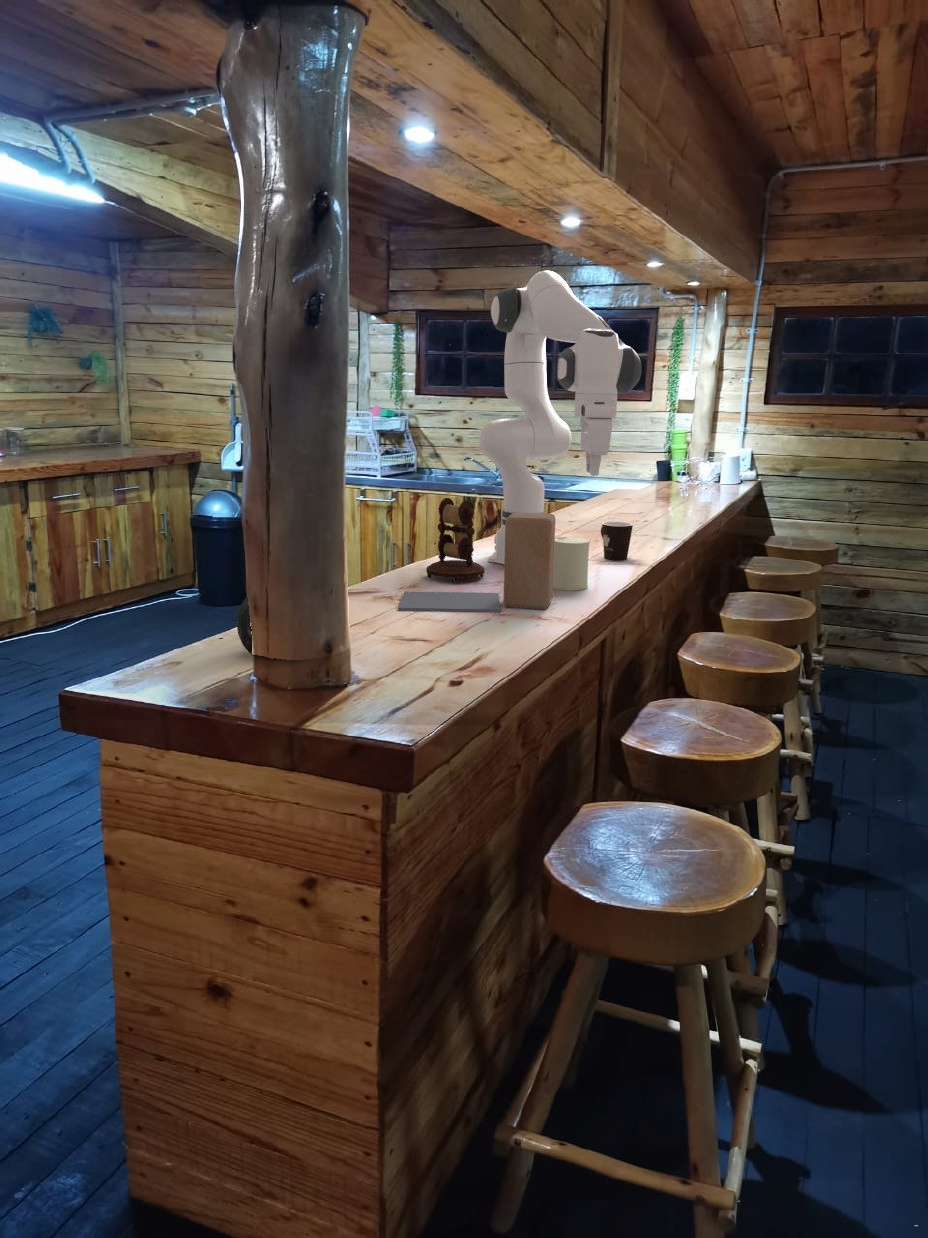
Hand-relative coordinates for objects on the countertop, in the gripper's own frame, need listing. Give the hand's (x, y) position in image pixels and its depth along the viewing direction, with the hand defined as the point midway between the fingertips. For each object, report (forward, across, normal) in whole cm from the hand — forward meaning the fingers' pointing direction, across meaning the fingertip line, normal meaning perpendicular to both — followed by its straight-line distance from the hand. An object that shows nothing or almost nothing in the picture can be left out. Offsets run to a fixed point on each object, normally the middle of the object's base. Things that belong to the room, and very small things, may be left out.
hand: (592, 473), depth 193 cm
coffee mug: (+29, -58, +15) cm, 67 cm away
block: (+29, 0, -13) cm, 32 cm away
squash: (+30, +41, -60) cm, 78 cm away
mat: (+29, 0, -30) cm, 42 cm away
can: (+29, -19, -2) cm, 35 cm away
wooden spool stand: (+29, -27, -30) cm, 50 cm away
